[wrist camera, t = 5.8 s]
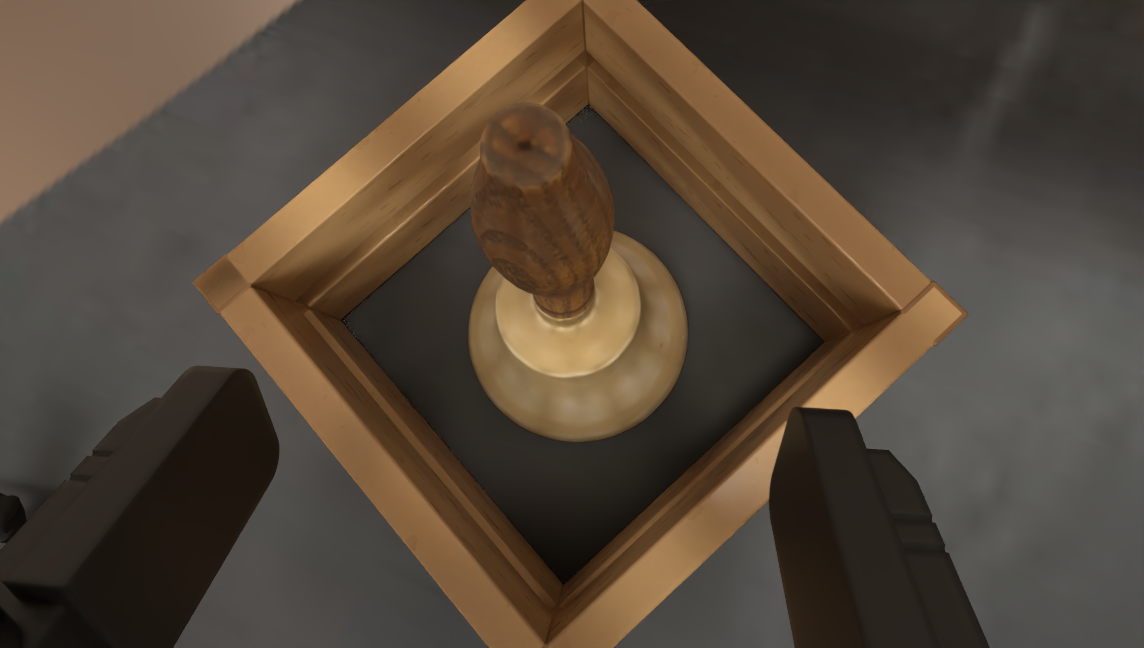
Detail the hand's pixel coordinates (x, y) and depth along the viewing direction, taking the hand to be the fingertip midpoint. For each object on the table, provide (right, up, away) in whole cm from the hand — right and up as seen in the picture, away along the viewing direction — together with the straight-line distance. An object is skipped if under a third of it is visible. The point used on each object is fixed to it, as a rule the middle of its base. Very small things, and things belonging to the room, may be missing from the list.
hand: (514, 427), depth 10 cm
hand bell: (+1, +1, +15) cm, 15 cm away
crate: (+1, +1, +15) cm, 15 cm away
